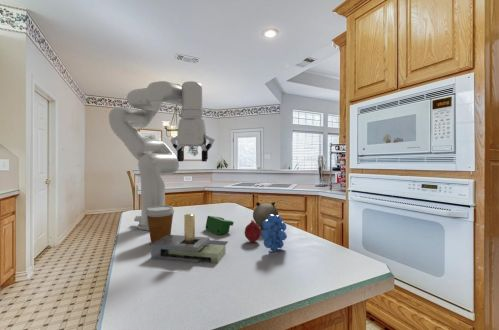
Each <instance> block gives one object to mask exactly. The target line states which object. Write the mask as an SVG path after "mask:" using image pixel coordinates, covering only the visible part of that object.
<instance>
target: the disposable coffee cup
mask: <svg viewBox="0 0 499 330" xmlns="http://www.w3.org/2000/svg"><path fill="white" fill-rule="evenodd" d="M174 213H175V209H174V206H172V205H171V206H170V205H165V206H154V207H150V208H148V209H147V212H146V215H147V218H148V225H149V230H148V231H149V238H150V245H151V244H152V243H154V242H155V241H157V240H159V239H161V238H162V237H164V236H166V235H172V234H171V233H172V225H173V218H174Z"/></svg>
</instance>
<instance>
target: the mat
mask: <svg viewBox="0 0 499 330" xmlns="http://www.w3.org/2000/svg"><path fill="white" fill-rule="evenodd" d="M228 243H229V241H224V240H213V239H210V242H208V243H207V244H214V245H227V244H228Z"/></svg>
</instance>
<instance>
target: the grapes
mask: <svg viewBox="0 0 499 330" xmlns="http://www.w3.org/2000/svg"><path fill="white" fill-rule="evenodd" d="M263 227H264V229H266V230H262V231H261V236H260V238H262V239H263V240H264V241H263V246H264V247H265V248H266V249H270V251H271V252H277V251H278V249H282V248H283V247H284V246H285V245H284V241H285V240H286V239H287V238H288V236H287V233H286V232H285V230H287V225H286V223H285V222H284V221H283V218H282V216H281V215H279V214H278V215H277V216H275V215H273V214H271V215H269V216H268V220H265V221H264V222H263Z"/></svg>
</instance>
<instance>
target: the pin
mask: <svg viewBox="0 0 499 330" xmlns="http://www.w3.org/2000/svg"><path fill="white" fill-rule="evenodd" d="M195 215H196V214H194V213H185V214H184V216H183V217H184V218H183V219H184V223H183V224H184V236H185V244H195V237H196V232H195V231H196V229H195V228H196V224H195V223H196V220H195V217H196V216H195Z"/></svg>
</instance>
